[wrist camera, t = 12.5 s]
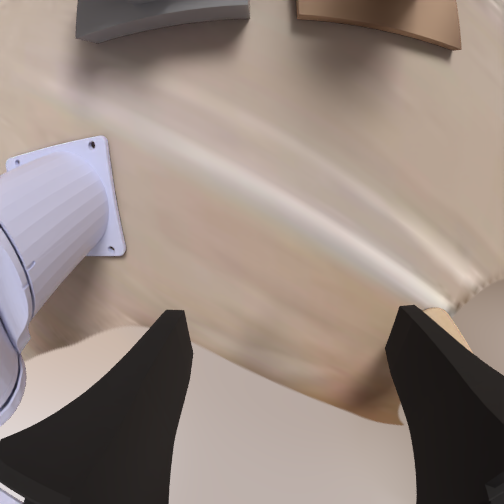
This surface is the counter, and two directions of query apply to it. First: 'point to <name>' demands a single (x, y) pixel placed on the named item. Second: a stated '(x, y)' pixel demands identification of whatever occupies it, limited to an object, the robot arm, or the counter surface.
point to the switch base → (149, 15)
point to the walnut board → (392, 17)
